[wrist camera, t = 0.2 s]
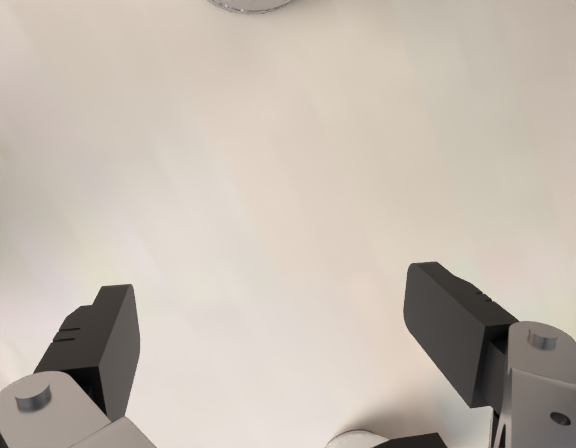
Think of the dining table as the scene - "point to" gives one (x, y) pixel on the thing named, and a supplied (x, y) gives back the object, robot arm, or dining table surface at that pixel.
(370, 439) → the lidded jar
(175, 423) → the dining table surface
